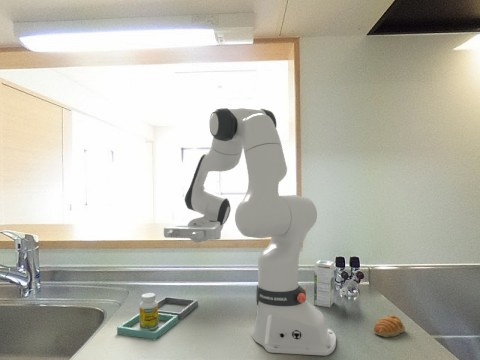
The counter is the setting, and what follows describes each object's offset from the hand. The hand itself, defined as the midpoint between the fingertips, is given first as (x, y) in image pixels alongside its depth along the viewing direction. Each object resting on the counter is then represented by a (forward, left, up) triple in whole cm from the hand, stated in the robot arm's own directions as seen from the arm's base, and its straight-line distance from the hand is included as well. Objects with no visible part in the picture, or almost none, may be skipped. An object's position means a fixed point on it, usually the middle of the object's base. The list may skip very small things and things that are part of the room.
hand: (181, 235), depth 116 cm
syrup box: (-45, -19, -25) cm, 55 cm away
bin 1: (+3, +15, -25) cm, 29 cm away
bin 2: (+3, +1, -25) cm, 25 cm away
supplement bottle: (+3, +15, -25) cm, 30 cm away
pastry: (-64, -3, -25) cm, 69 cm away
